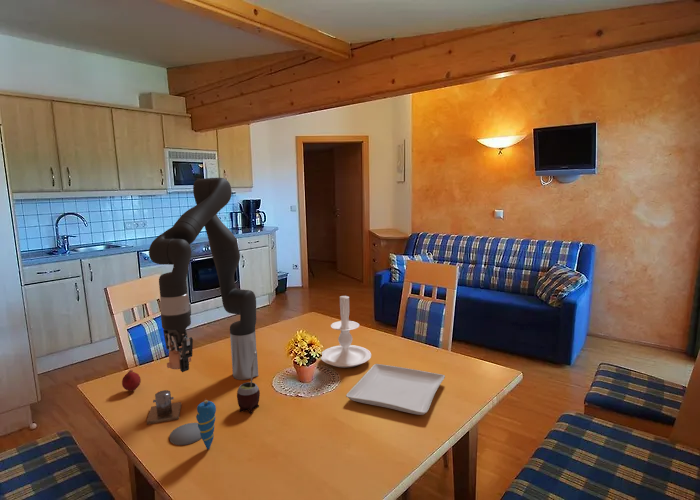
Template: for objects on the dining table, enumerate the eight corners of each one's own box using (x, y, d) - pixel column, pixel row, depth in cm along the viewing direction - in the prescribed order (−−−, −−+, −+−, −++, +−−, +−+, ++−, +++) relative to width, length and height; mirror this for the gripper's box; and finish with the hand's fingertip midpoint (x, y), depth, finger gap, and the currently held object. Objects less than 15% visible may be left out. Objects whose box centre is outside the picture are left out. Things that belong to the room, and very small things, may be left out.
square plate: (445, 383, 149) (445, 373, 149) (426, 424, 125) (426, 412, 124) (375, 370, 160) (375, 361, 160) (344, 405, 136) (344, 394, 135)
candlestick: (370, 348, 182) (370, 285, 177) (371, 373, 157) (370, 302, 153) (323, 348, 182) (322, 286, 178) (317, 373, 158) (315, 302, 153)
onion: (133, 396, 144) (131, 374, 143) (119, 394, 145) (116, 373, 144) (145, 387, 150) (142, 367, 148) (131, 386, 151) (128, 365, 149)
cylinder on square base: (181, 404, 138) (179, 384, 137) (178, 419, 129) (176, 398, 128) (151, 409, 135) (149, 389, 134) (146, 424, 127) (144, 403, 125)
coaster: (206, 422, 127) (206, 420, 127) (205, 441, 118) (205, 439, 118) (171, 428, 124) (171, 426, 124) (167, 448, 115) (167, 446, 115)
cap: (194, 364, 118) (194, 349, 118) (172, 371, 114) (171, 355, 113) (186, 359, 122) (185, 344, 121) (163, 366, 117) (162, 350, 116)
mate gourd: (240, 417, 130) (237, 372, 127) (235, 405, 137) (232, 362, 134) (264, 410, 133) (261, 366, 131) (257, 399, 140) (255, 357, 138)
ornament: (202, 443, 117) (197, 394, 114) (220, 442, 117) (216, 392, 115) (196, 455, 112) (192, 403, 109) (216, 454, 112) (212, 402, 110)
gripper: (200, 312, 113) (204, 371, 116) (177, 302, 123) (182, 356, 126) (172, 318, 108) (178, 380, 110) (151, 308, 118) (156, 364, 120)
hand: (180, 367), depth 118 cm, fingers closed on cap, 5 cm apart
